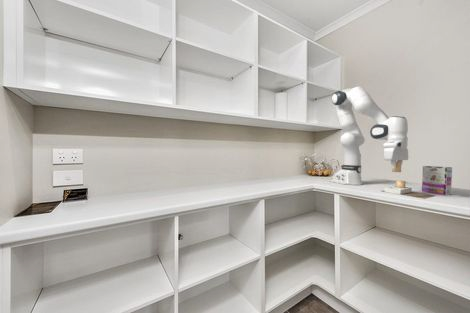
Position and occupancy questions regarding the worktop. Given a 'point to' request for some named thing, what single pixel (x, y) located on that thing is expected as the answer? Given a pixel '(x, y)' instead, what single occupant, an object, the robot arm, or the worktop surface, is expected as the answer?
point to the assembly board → (415, 195)
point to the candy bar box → (437, 180)
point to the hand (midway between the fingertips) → (396, 168)
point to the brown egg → (397, 167)
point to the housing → (398, 188)
